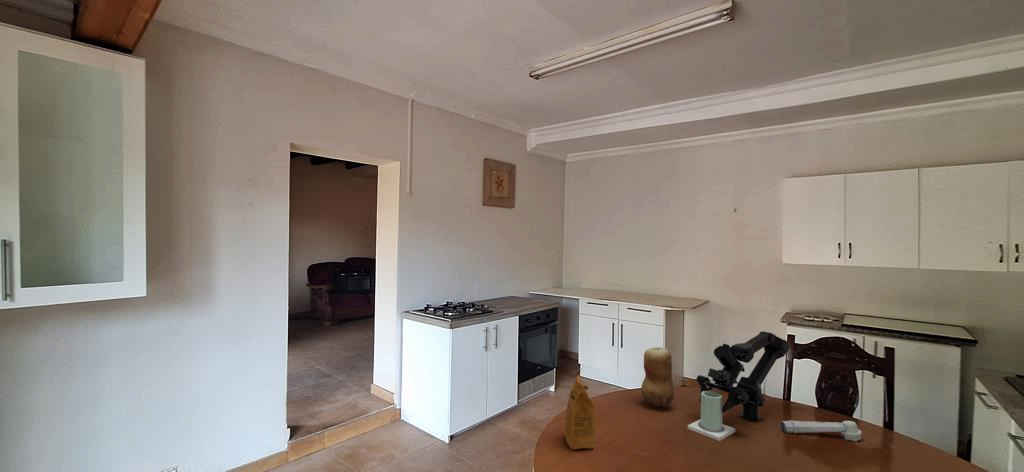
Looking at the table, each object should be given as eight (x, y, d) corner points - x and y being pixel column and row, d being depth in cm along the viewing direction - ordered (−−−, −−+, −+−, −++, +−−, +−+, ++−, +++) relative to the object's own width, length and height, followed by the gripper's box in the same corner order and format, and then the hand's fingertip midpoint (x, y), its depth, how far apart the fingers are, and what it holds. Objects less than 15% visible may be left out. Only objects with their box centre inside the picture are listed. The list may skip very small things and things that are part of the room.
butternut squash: (635, 401, 182) (636, 344, 182) (662, 398, 185) (662, 343, 186) (653, 414, 169) (654, 353, 169) (682, 411, 172) (682, 351, 172)
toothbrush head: (778, 418, 157) (854, 416, 151) (781, 435, 157) (857, 434, 151) (784, 424, 152) (862, 422, 146) (787, 442, 152) (865, 441, 146)
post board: (703, 420, 163) (703, 408, 163) (735, 431, 154) (735, 418, 154) (687, 428, 156) (687, 415, 156) (719, 441, 146) (719, 427, 146)
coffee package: (590, 434, 150) (591, 374, 151) (597, 451, 138) (598, 386, 138) (563, 433, 150) (564, 373, 151) (567, 451, 138) (568, 385, 138)
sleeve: (714, 422, 158) (715, 391, 158) (725, 430, 152) (725, 397, 152) (697, 422, 158) (698, 391, 158) (707, 430, 151) (707, 398, 151)
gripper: (698, 354, 166) (680, 386, 160) (743, 367, 149) (724, 403, 144) (711, 371, 169) (693, 403, 164) (756, 385, 153) (738, 421, 147)
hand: (711, 407), depth 155 cm, fingers open, 9 cm apart
